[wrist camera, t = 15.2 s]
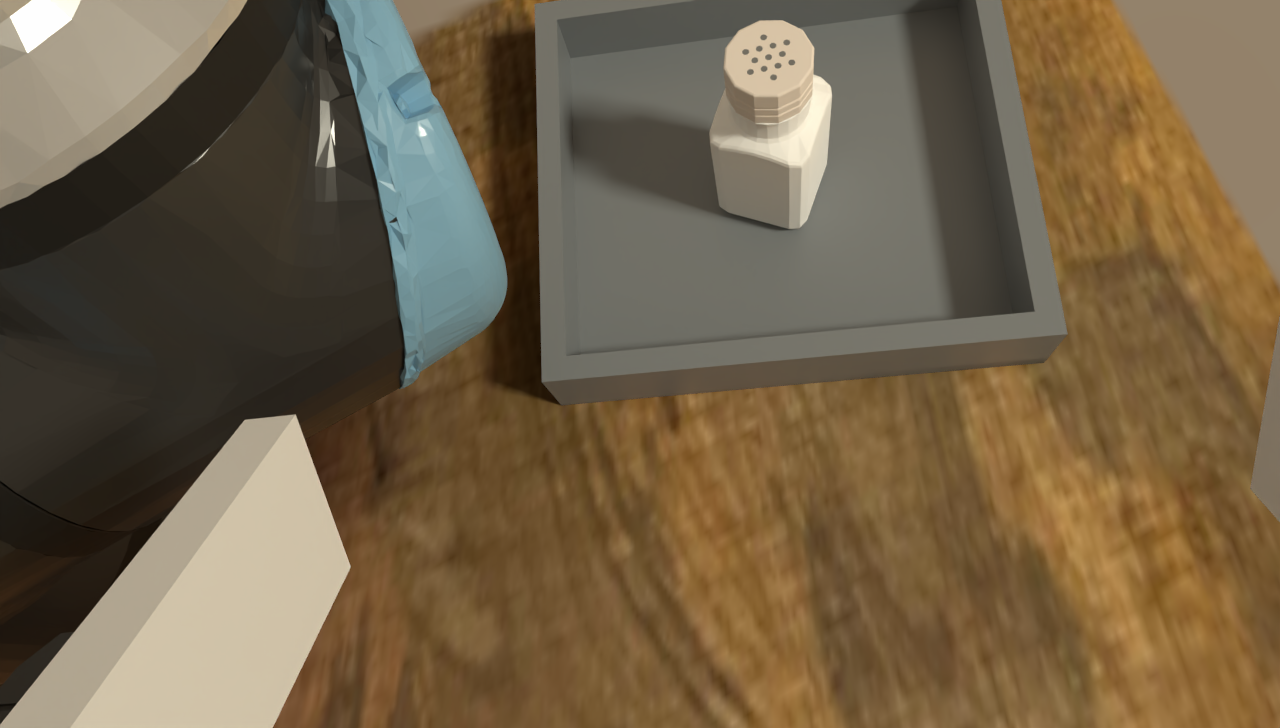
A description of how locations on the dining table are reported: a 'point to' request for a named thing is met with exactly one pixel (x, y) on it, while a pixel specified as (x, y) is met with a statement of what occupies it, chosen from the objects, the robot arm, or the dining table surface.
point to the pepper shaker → (770, 126)
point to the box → (772, 255)
